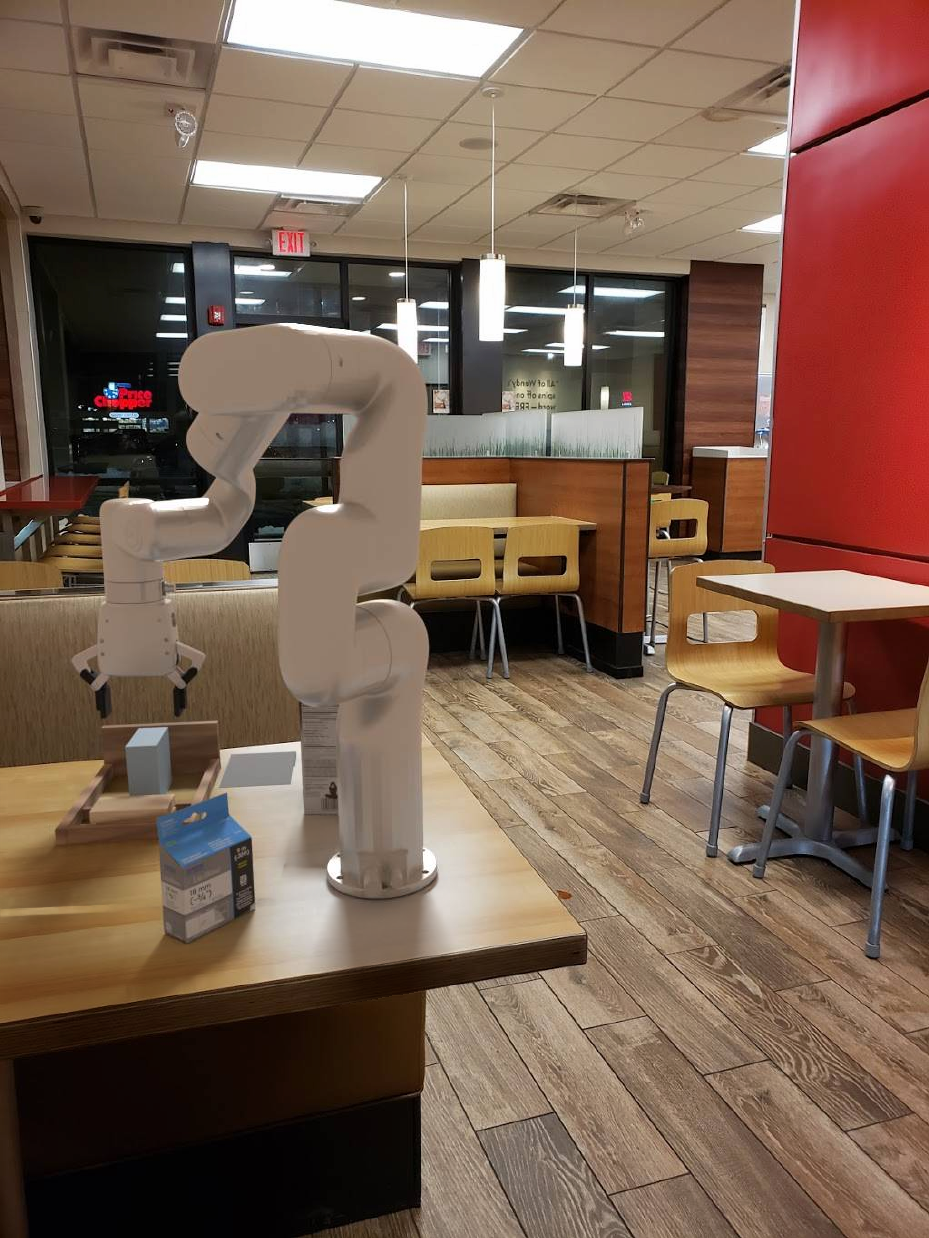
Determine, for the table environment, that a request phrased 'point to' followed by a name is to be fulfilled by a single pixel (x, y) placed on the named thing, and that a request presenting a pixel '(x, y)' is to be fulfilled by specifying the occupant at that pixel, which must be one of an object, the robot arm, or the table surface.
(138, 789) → the pale blue upright prism
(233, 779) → the mat
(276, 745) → the table surface
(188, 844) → the label tape cartridge
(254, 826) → the table surface
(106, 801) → the slab top
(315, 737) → the coffee box
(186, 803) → the rack
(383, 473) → the robot arm
